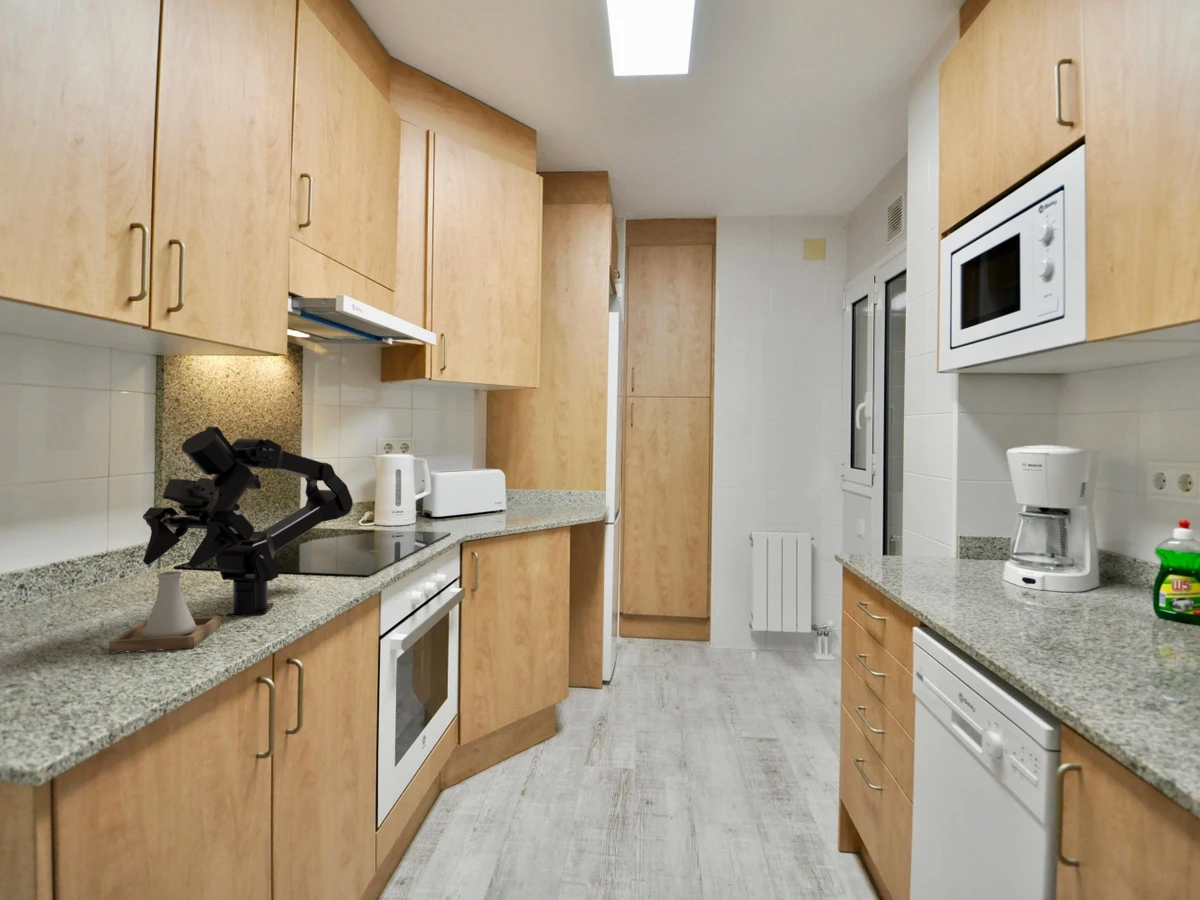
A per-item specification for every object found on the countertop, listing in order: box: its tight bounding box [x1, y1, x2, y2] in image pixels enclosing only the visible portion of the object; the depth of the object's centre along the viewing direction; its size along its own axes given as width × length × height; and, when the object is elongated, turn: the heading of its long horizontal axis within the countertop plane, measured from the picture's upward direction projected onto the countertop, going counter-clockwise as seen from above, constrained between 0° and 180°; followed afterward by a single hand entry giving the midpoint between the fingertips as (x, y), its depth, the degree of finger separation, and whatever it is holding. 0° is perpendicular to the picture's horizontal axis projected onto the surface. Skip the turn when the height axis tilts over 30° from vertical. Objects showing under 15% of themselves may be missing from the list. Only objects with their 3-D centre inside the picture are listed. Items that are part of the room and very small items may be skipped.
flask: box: [141, 570, 197, 638], centre depth 103 cm, size 7×7×10 cm
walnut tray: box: [108, 615, 222, 654], centre depth 103 cm, size 12×12×2 cm
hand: (167, 565), depth 103 cm, fingers open, 9 cm apart
